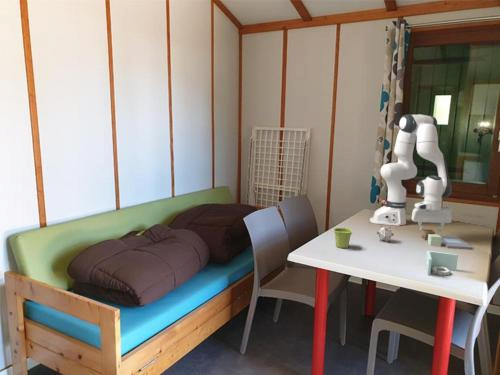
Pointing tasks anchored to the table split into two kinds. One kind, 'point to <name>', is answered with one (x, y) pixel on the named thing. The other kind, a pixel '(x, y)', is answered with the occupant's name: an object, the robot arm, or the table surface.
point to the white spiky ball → (385, 233)
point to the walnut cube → (426, 232)
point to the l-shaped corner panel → (441, 262)
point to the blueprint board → (454, 242)
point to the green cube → (434, 240)
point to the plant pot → (342, 237)
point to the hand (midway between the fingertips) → (430, 230)
